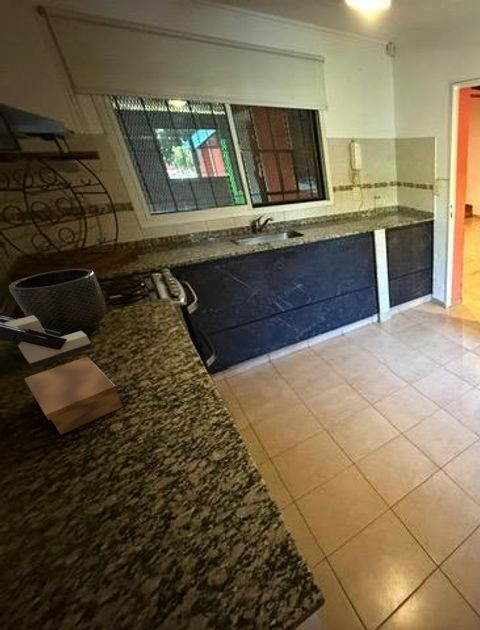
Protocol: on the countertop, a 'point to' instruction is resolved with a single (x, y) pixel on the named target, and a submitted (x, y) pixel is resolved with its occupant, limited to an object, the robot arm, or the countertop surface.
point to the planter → (62, 300)
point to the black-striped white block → (43, 354)
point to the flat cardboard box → (74, 394)
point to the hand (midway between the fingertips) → (59, 341)
